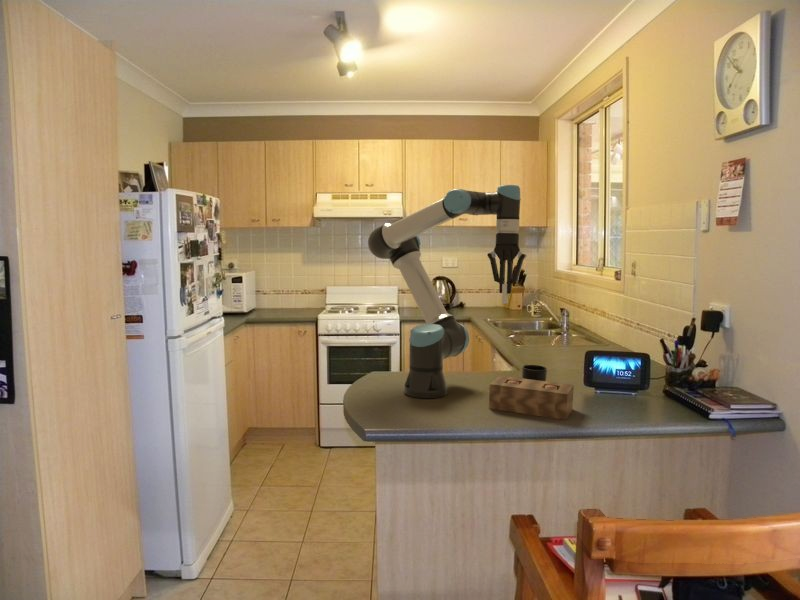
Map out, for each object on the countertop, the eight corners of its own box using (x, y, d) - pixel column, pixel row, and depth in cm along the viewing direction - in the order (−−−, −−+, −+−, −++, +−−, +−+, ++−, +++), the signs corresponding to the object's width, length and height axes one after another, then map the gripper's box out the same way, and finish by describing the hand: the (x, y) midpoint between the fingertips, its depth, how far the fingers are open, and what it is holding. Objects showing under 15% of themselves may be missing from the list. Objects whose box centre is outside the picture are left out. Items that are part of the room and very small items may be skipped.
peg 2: (542, 410, 176) (544, 387, 175) (545, 407, 179) (546, 384, 178) (554, 412, 174) (555, 388, 173) (556, 409, 178) (557, 386, 177)
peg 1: (505, 405, 181) (506, 382, 180) (508, 402, 184) (509, 379, 183) (516, 406, 179) (517, 383, 179) (519, 403, 183) (520, 381, 182)
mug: (536, 387, 204) (537, 362, 203) (549, 397, 193) (550, 370, 192) (514, 388, 203) (515, 362, 202) (526, 397, 192) (527, 370, 190)
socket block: (489, 408, 179) (489, 384, 178) (499, 398, 190) (500, 375, 189) (566, 420, 169) (567, 394, 168) (572, 409, 180) (573, 384, 179)
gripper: (485, 232, 185) (483, 302, 188) (524, 232, 180) (521, 305, 183) (491, 232, 192) (489, 300, 195) (529, 232, 187) (526, 303, 189)
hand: (505, 303), depth 189 cm, fingers closed
